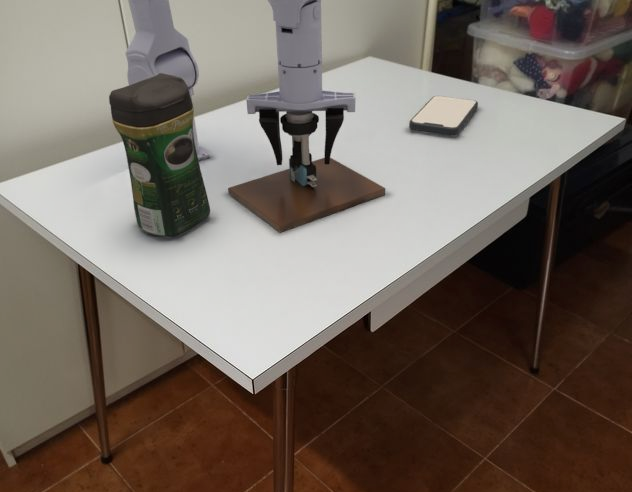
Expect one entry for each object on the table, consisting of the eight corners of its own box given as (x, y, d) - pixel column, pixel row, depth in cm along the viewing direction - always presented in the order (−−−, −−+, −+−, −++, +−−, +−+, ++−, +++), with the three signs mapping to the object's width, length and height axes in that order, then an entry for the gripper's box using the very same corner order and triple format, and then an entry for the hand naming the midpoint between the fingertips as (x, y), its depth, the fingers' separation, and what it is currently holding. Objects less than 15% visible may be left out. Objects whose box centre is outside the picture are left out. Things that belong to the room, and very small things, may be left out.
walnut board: (280, 232, 82) (279, 226, 81) (228, 194, 91) (227, 187, 90) (385, 194, 90) (385, 188, 89) (328, 162, 98) (328, 156, 98)
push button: (330, 185, 90) (330, 116, 83) (297, 194, 88) (294, 124, 82) (309, 168, 94) (307, 101, 88) (277, 176, 93) (273, 108, 86)
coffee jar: (179, 201, 89) (155, 64, 77) (220, 216, 86) (201, 75, 74) (127, 229, 84) (92, 85, 71) (168, 246, 80) (138, 98, 68)
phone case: (432, 103, 118) (406, 131, 107) (433, 94, 117) (406, 122, 106) (478, 109, 115) (456, 138, 104) (480, 100, 114) (458, 129, 103)
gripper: (354, 51, 83) (352, 149, 92) (246, 53, 84) (255, 151, 93) (356, 67, 78) (354, 170, 87) (241, 69, 78) (251, 171, 87)
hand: (303, 161), depth 89 cm, fingers open, 6 cm apart
